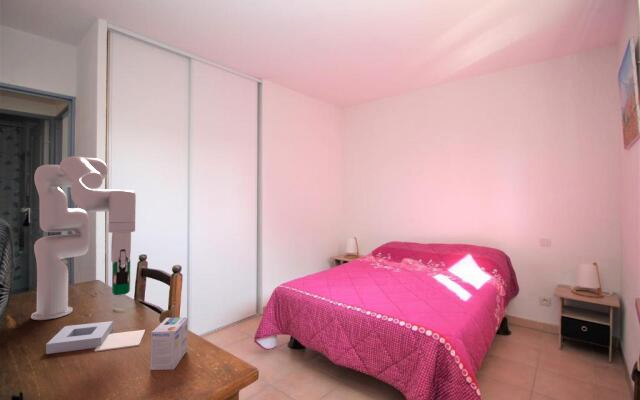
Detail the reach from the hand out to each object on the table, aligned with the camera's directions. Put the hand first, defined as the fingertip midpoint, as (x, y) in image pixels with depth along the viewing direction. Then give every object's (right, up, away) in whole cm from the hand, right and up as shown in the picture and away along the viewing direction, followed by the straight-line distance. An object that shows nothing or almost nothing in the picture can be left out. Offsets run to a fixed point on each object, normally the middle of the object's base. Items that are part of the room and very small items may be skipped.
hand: (121, 281), depth 103 cm
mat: (0, -20, 0) cm, 20 cm away
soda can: (0, -4, 0) cm, 4 cm away
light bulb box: (+22, -20, -12) cm, 32 cm away
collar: (-13, -19, -1) cm, 23 cm away
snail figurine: (+15, -20, 0) cm, 25 cm away
